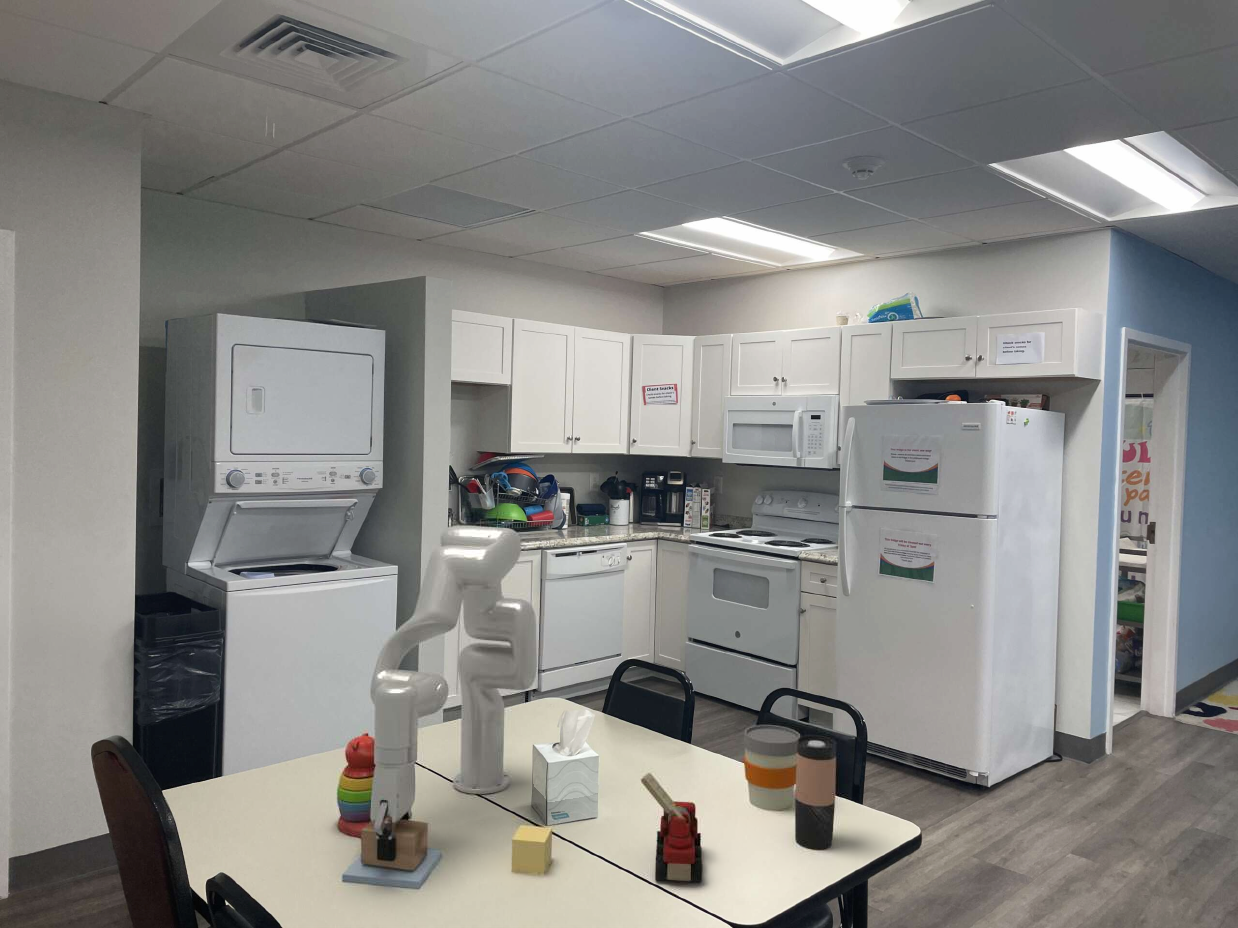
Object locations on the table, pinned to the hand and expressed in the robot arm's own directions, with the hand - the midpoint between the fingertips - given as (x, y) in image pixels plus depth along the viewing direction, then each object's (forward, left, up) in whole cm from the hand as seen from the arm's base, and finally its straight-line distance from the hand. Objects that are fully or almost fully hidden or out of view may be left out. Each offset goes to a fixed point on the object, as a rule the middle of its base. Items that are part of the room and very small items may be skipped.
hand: (394, 849), depth 163 cm
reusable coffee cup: (-44, +68, -4) cm, 81 cm away
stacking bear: (-16, -13, -4) cm, 21 cm away
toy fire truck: (-11, +49, -4) cm, 50 cm away
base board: (0, 0, -3) cm, 3 cm away
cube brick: (-6, +24, -4) cm, 25 cm away
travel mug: (-26, +76, -4) cm, 80 cm away
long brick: (0, 0, -2) cm, 2 cm away
